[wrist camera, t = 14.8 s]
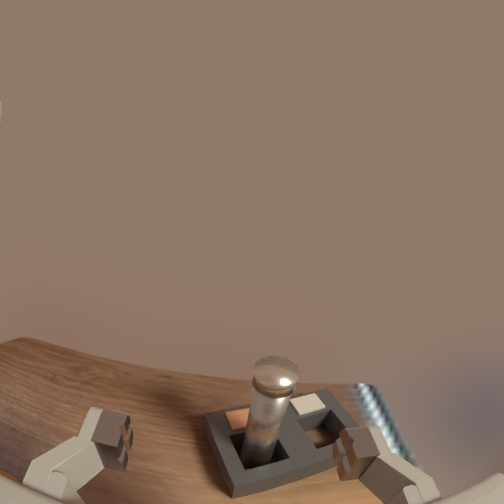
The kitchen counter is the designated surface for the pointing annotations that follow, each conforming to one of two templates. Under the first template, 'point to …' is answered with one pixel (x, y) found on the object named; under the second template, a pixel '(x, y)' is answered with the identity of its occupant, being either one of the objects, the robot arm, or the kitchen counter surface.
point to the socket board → (277, 443)
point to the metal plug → (267, 409)
